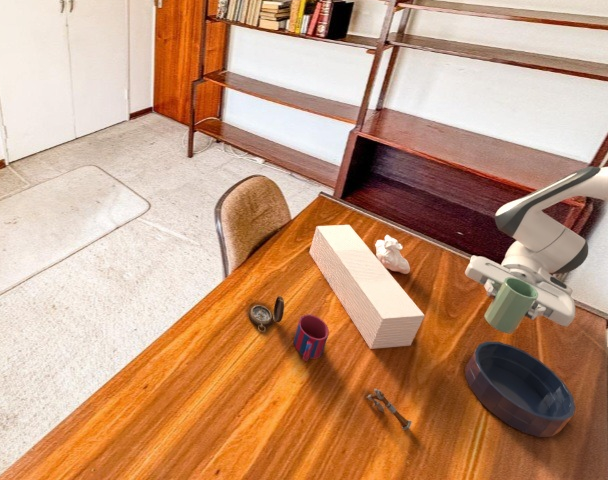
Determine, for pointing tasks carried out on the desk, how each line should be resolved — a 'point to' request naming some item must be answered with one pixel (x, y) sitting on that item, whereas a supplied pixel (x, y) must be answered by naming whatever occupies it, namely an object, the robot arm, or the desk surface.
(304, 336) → the mug
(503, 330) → the green cup
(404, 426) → the brown grey jointed rod
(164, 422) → the desk surface
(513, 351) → the wash bowl
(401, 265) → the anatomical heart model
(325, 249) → the stack of papers
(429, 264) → the desk surface
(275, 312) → the compass
